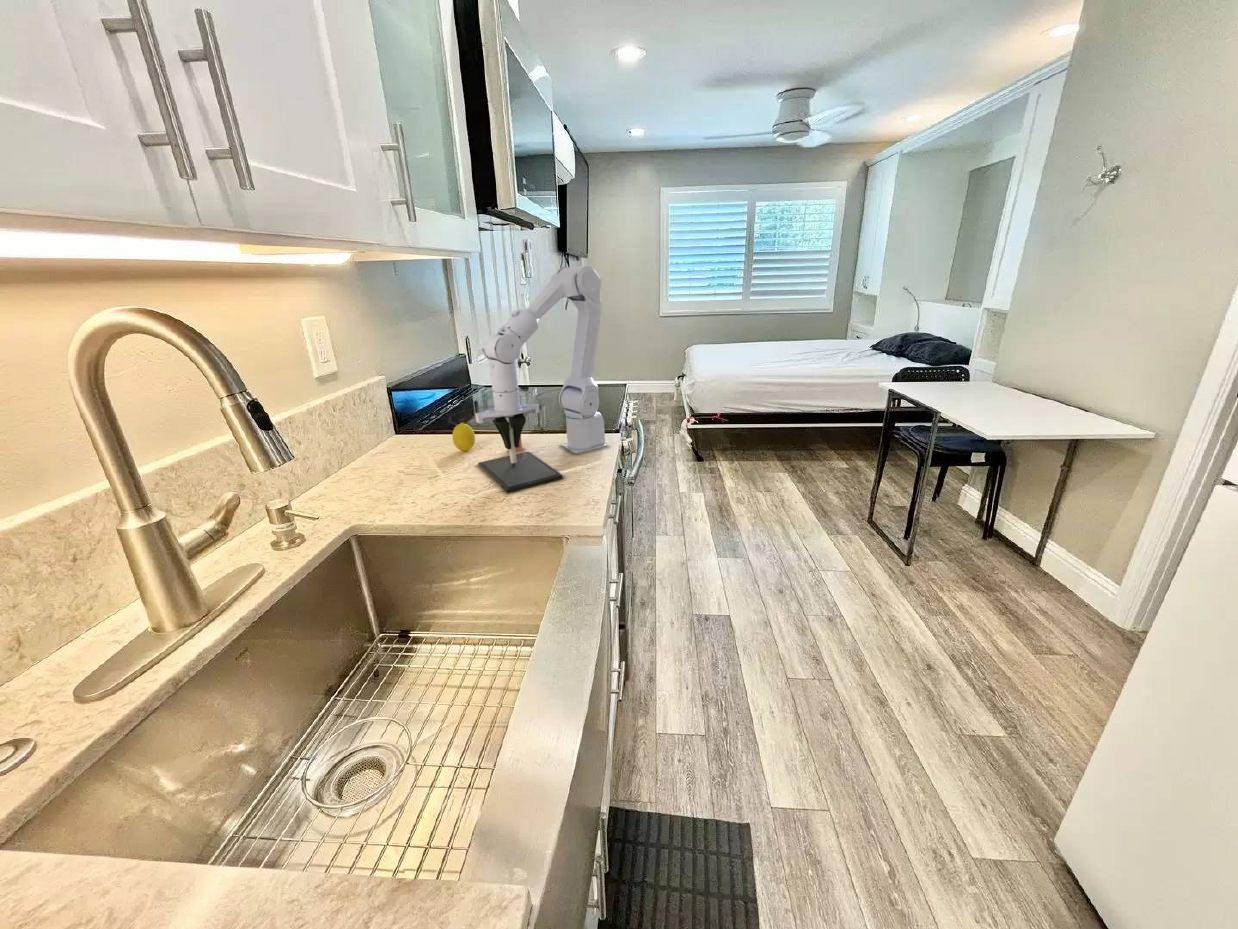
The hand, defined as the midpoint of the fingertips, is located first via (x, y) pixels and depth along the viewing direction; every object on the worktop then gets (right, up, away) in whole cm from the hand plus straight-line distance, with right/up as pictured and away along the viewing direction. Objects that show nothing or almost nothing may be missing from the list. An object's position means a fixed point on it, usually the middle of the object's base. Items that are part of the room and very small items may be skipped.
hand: (512, 447), depth 114 cm
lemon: (-15, -1, +13) cm, 20 cm away
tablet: (+2, -6, 0) cm, 6 cm away
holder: (-2, -1, +13) cm, 13 cm away
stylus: (0, -4, +2) cm, 4 cm away
